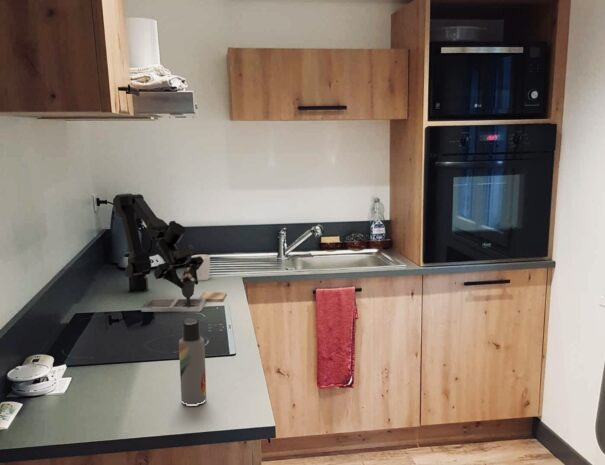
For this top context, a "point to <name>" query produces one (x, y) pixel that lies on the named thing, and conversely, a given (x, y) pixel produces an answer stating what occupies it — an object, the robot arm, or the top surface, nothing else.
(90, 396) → the top surface
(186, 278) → the sundae
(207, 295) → the coaster
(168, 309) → the divided tray
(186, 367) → the lotion bottle
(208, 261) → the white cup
